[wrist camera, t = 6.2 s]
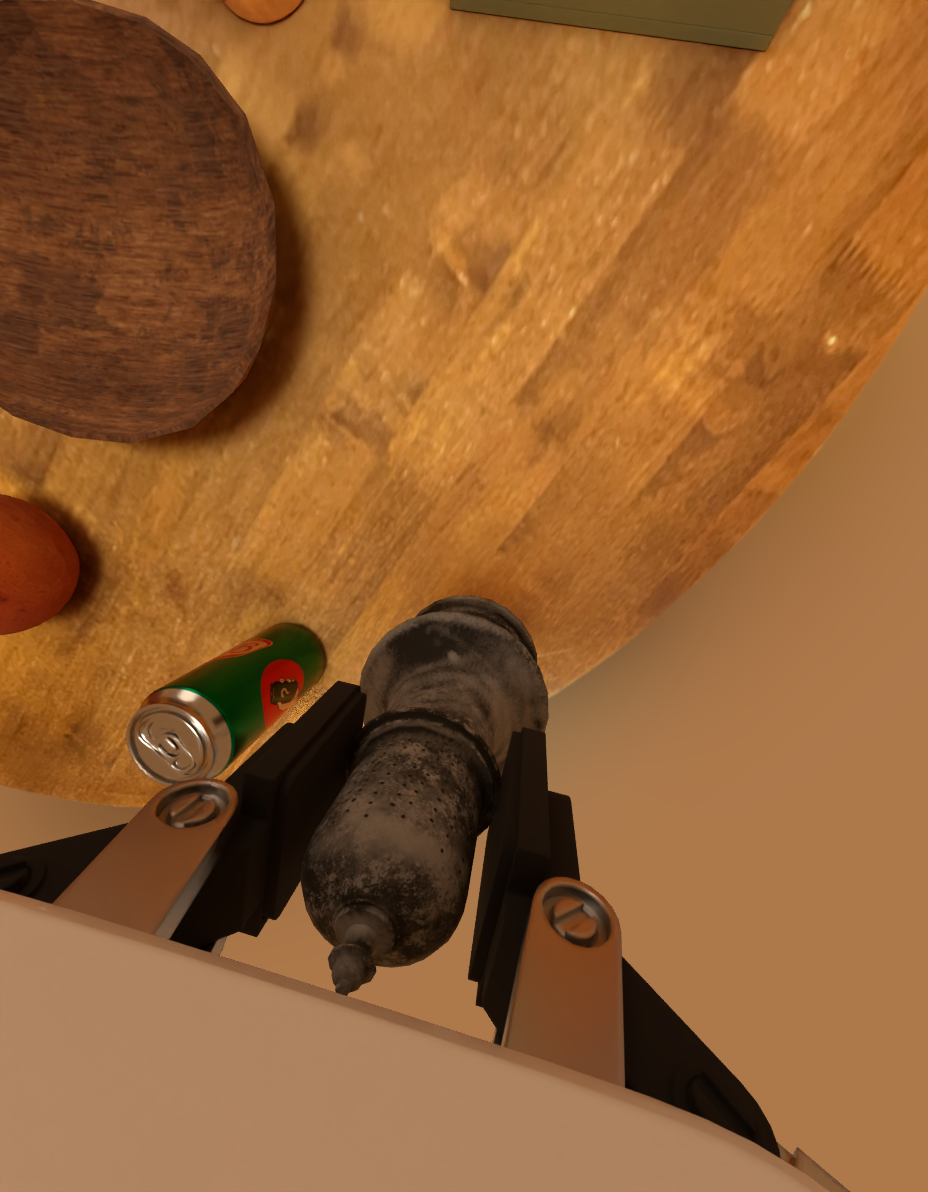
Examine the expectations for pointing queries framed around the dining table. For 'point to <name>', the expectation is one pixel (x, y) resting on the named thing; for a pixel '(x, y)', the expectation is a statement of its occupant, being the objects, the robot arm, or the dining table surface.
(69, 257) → the bowl
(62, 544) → the fruit
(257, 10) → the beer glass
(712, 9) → the box
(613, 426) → the dining table surface
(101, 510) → the dining table surface
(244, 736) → the soda can
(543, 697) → the chess piece
